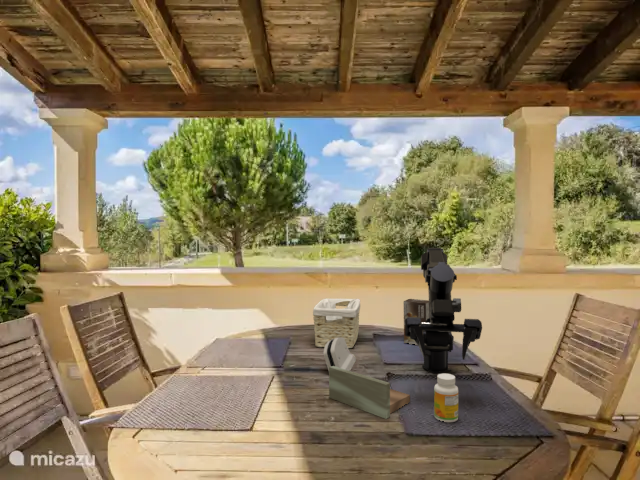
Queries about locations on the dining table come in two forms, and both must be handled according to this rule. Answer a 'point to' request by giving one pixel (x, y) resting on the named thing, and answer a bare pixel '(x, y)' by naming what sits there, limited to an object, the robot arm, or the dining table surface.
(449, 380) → the supplement bottle
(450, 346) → the robot arm
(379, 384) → the wall board ledge
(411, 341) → the coffee box
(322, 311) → the storage basket
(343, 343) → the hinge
